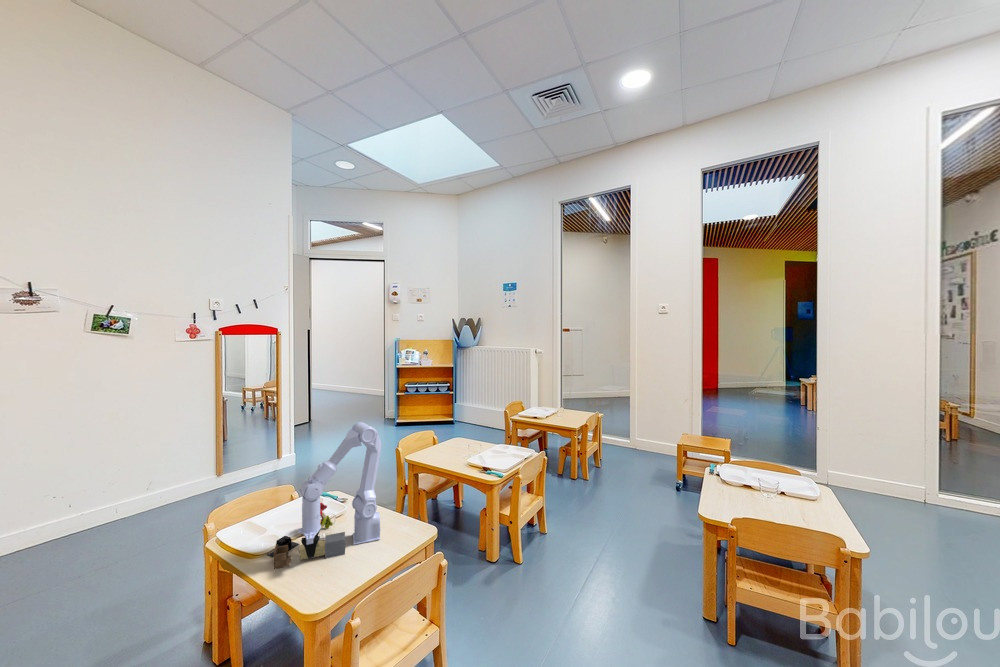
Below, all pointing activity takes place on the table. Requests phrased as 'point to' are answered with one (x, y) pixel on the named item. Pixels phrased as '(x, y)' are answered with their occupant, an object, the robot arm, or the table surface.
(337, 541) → the sleeve
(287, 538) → the black recessed box
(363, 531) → the robot arm
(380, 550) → the table surface
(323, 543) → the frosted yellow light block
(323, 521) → the bird rattle
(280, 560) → the socket
